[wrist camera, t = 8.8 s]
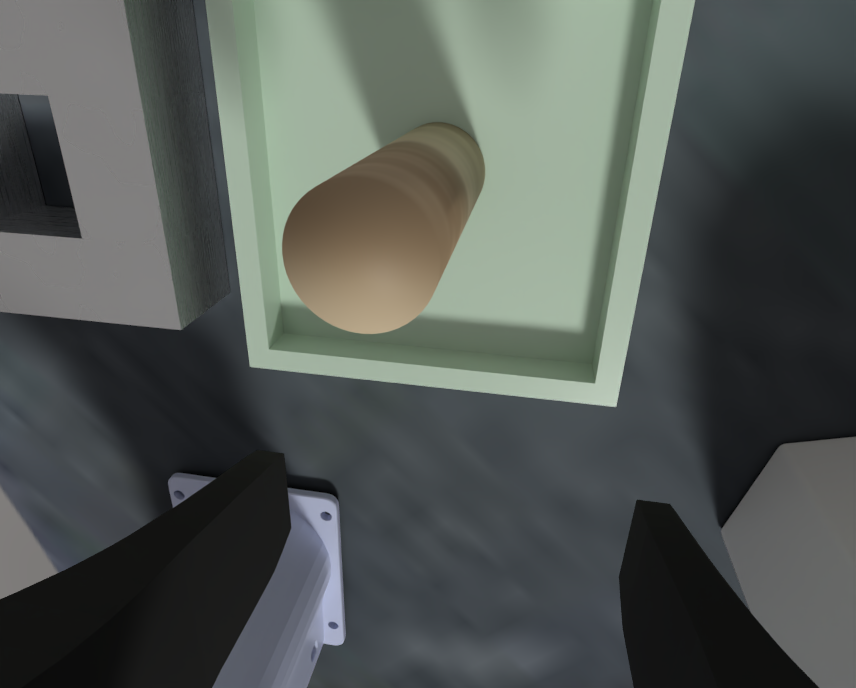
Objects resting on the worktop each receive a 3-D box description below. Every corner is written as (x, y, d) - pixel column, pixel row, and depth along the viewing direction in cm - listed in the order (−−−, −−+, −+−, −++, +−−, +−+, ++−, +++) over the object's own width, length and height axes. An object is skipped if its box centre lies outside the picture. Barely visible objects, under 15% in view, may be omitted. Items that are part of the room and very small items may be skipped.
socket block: (230, 292, 23) (181, 330, 20) (1, 272, 24) (-79, 303, 21) (190, -10, 18) (119, -23, 15) (-87, -13, 20) (-205, -26, 17)
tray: (610, 378, 22) (616, 406, 20) (272, 343, 23) (249, 366, 22) (696, -91, 15) (716, -110, 14) (228, -88, 17) (192, -105, 15)
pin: (482, 222, 19) (437, 340, 11) (392, 215, 20) (289, 326, 12) (488, 124, 18) (442, 181, 10) (391, 120, 18) (274, 171, 10)
